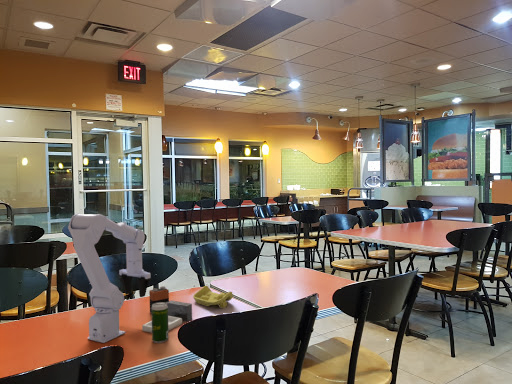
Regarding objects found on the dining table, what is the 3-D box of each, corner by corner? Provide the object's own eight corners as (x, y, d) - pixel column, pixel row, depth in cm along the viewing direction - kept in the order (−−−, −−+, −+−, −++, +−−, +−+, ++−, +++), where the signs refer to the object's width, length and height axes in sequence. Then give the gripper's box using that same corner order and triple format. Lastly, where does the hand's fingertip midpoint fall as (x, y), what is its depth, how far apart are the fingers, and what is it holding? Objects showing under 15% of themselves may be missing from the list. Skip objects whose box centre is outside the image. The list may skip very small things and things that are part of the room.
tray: (161, 334, 133) (160, 329, 133) (142, 330, 137) (142, 325, 137) (182, 323, 143) (182, 318, 143) (164, 319, 147) (164, 314, 147)
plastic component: (191, 296, 169) (207, 283, 175) (198, 310, 171) (214, 296, 177) (215, 304, 154) (233, 289, 159) (223, 319, 155) (240, 303, 161)
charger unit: (187, 321, 145) (186, 306, 145) (166, 317, 150) (166, 302, 149) (192, 318, 148) (192, 303, 148) (172, 315, 152) (171, 300, 152)
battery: (169, 311, 157) (169, 287, 156) (153, 315, 153) (152, 290, 152) (165, 308, 160) (164, 285, 160) (149, 312, 156) (148, 288, 156)
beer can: (169, 336, 132) (168, 301, 131) (167, 343, 126) (166, 306, 126) (153, 337, 131) (152, 302, 131) (150, 344, 126) (150, 307, 125)
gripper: (155, 259, 148) (156, 294, 148) (128, 256, 154) (129, 290, 155) (142, 263, 141) (143, 300, 142) (114, 260, 148) (115, 294, 149)
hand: (135, 295), depth 148 cm, fingers open, 7 cm apart
